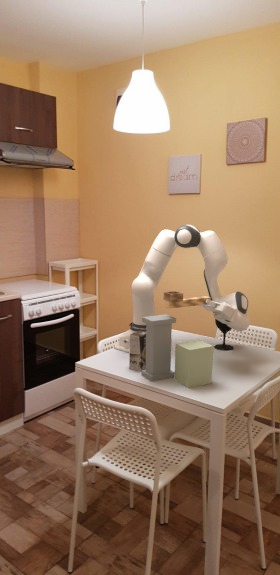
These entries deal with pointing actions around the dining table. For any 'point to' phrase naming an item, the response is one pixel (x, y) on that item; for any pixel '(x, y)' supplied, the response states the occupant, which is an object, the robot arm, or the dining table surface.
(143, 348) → the coffee box
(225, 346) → the wine glass
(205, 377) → the box
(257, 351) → the dining table surface
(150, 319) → the tower
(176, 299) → the catapult arm
